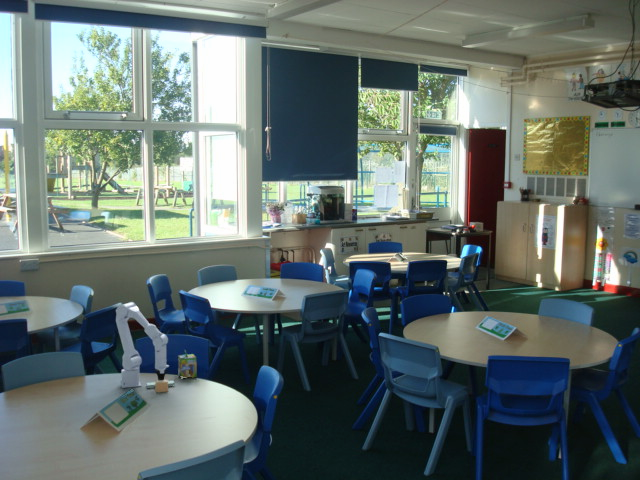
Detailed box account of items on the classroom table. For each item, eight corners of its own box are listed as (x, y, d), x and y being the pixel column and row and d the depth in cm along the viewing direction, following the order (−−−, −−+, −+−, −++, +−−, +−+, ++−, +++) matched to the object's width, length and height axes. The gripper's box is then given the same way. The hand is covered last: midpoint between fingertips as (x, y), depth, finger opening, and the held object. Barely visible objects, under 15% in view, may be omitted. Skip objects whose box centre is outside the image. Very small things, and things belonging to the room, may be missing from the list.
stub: (156, 392, 328) (156, 383, 327) (155, 389, 333) (155, 380, 332) (168, 391, 330) (167, 382, 329) (167, 388, 334) (167, 379, 334)
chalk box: (197, 377, 354) (196, 351, 353) (180, 379, 351) (180, 353, 349) (194, 373, 362) (194, 347, 361) (177, 374, 359) (177, 349, 358)
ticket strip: (147, 388, 334) (147, 385, 334) (146, 385, 338) (146, 382, 338) (174, 386, 338) (174, 383, 338) (173, 383, 343) (173, 380, 343)
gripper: (170, 360, 328) (170, 386, 329) (167, 353, 342) (167, 378, 343) (155, 361, 326) (156, 387, 327) (153, 354, 339) (153, 379, 340)
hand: (161, 383), depth 334 cm, fingers closed
